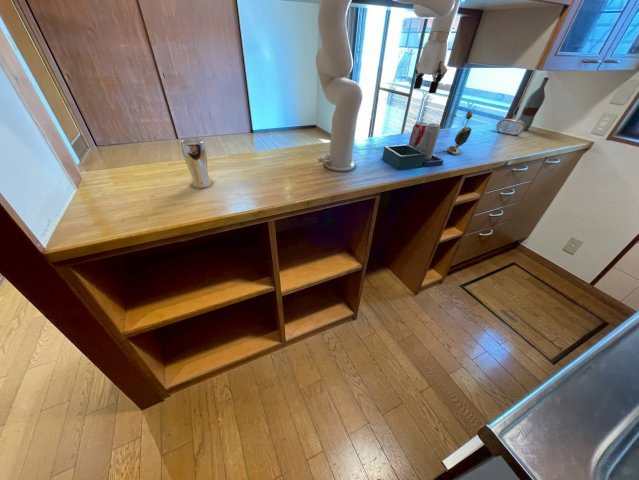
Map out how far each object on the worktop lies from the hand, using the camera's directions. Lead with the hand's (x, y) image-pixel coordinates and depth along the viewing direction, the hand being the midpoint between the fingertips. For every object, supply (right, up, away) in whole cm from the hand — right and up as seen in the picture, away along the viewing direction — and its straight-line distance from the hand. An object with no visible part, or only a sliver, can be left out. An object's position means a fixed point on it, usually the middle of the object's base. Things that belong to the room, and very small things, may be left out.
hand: (424, 90), depth 108 cm
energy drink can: (+6, -23, +15) cm, 28 cm away
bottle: (+94, +14, +71) cm, 119 cm away
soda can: (+6, -14, +28) cm, 32 cm away
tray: (+6, -24, +15) cm, 29 cm away
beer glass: (-84, -42, -15) cm, 95 cm away
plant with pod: (+26, -16, +27) cm, 41 cm away
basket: (-6, -26, +11) cm, 29 cm away
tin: (+76, +6, +59) cm, 97 cm away
